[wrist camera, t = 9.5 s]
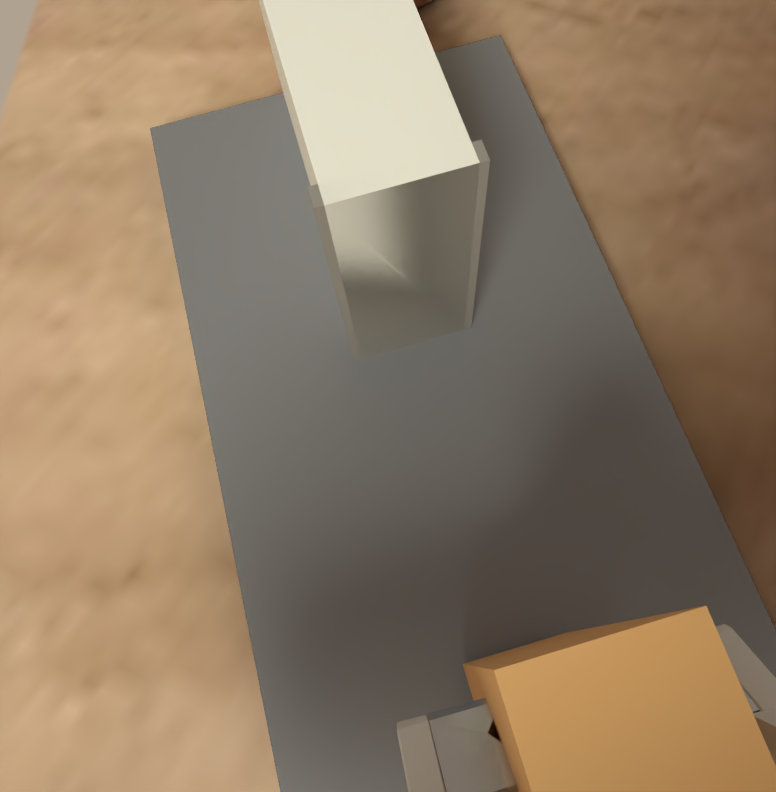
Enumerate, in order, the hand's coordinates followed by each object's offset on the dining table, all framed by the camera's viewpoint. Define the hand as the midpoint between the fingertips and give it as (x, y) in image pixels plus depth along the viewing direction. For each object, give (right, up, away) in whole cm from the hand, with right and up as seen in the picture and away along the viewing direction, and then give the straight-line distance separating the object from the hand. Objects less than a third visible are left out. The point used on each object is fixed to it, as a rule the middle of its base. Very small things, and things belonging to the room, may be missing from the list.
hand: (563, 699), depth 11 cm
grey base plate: (-2, +4, +9) cm, 10 cm away
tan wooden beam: (+1, -2, +4) cm, 5 cm away
